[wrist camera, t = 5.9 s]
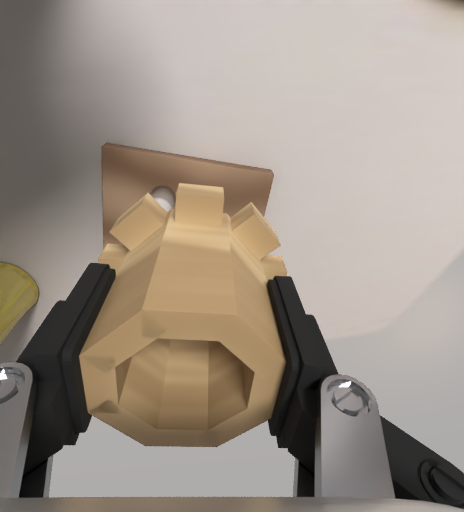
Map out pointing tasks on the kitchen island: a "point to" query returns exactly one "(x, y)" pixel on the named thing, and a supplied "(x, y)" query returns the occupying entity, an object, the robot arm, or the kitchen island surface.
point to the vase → (14, 297)
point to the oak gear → (186, 323)
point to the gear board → (173, 181)
